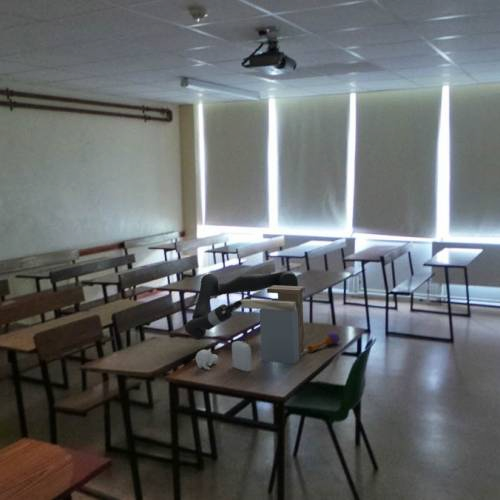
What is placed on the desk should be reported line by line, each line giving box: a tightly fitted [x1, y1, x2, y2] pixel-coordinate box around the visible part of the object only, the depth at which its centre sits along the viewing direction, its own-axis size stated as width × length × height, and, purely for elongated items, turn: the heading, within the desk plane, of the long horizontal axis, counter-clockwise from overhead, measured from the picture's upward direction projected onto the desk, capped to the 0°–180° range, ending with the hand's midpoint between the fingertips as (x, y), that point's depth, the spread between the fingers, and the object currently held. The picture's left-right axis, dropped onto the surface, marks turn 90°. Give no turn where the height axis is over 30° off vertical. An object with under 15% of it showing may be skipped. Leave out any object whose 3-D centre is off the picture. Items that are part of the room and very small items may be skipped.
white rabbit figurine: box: [195, 349, 219, 371], centre depth 253 cm, size 6×8×12 cm
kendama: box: [307, 331, 340, 353], centre depth 274 cm, size 6×6×20 cm
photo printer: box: [231, 340, 253, 372], centre depth 248 cm, size 10×4×12 cm, turn 39°
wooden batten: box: [240, 298, 296, 311], centre depth 257 cm, size 4×26×4 cm, turn 65°
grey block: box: [259, 308, 301, 365], centre depth 256 cm, size 7×16×24 cm, turn 65°
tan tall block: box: [266, 285, 308, 359], centre depth 265 cm, size 8×16×32 cm, turn 65°
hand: (244, 299), depth 261 cm, fingers open, 8 cm apart
